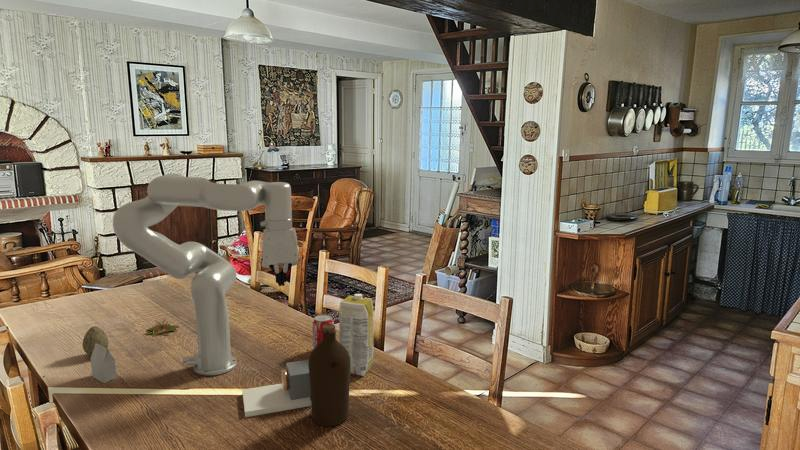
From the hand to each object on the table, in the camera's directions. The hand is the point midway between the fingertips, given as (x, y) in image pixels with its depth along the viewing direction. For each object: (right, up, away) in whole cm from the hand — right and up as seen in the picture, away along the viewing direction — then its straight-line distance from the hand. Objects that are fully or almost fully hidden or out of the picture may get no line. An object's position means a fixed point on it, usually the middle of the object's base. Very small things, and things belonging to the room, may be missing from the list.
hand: (281, 284), depth 155 cm
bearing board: (+6, -30, -11) cm, 33 cm away
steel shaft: (+10, -27, -10) cm, 31 cm away
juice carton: (+22, -27, +5) cm, 35 cm away
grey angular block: (-52, -28, -1) cm, 59 cm away
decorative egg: (-62, -25, +13) cm, 68 cm away
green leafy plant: (-51, -21, +33) cm, 64 cm away
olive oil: (+17, -32, -20) cm, 42 cm away
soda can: (+10, -24, +17) cm, 32 cm away
